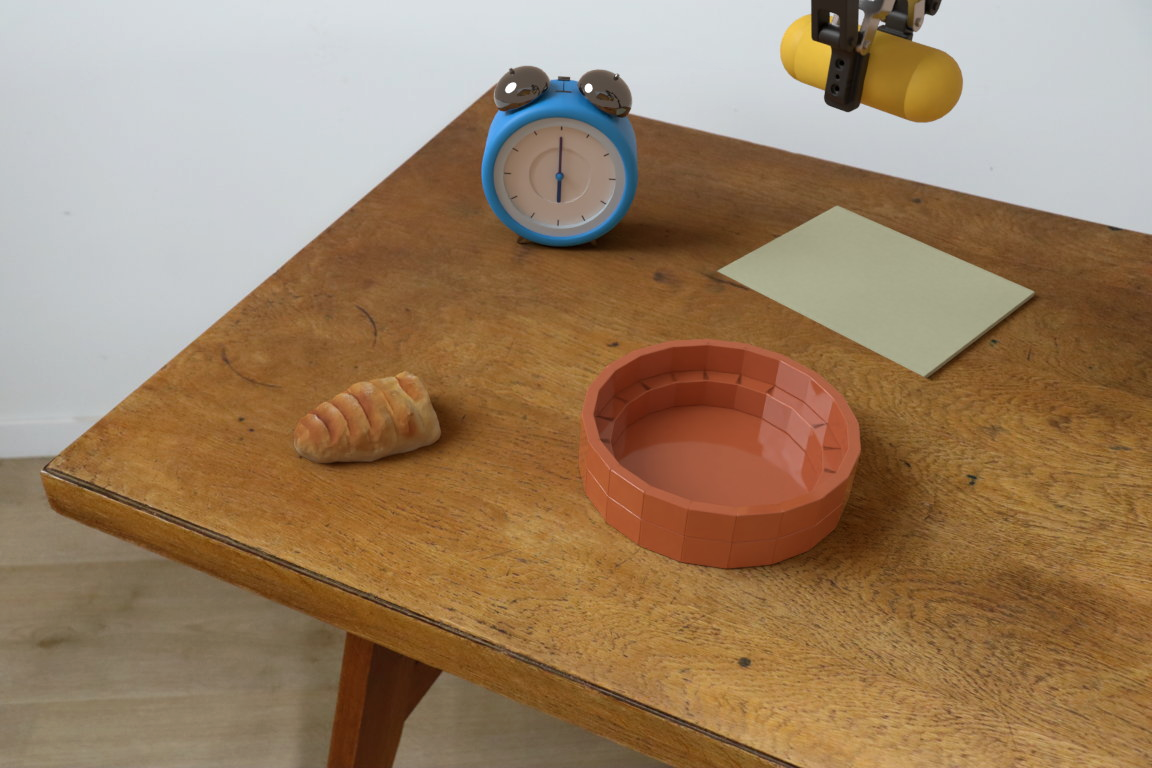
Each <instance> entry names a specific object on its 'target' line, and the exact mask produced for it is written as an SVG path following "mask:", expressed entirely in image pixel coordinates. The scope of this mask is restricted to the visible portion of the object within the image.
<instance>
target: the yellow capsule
mask: <svg viewBox="0 0 1152 768" xmlns="http://www.w3.org/2000/svg"><path fill="white" fill-rule="evenodd" d="M833 16H834V15H830V23H831V22H832V19H833ZM861 25H862V24H859V23H858V31H860V28H861ZM779 47H780V48H779V54H780V60H781V64H782V66H783V68H784V70H785V71H786V72H787V74H788V75H789V76H790V77H791V78H792V79H794V80H796V81H798V82H799V83H802V84H805V85H807V86H809V87H812V88H816V89H819V90H821V91H824V92H825V87H826V81H827V76H828V70H829V64H830V59H831V47H830V46H829V45H826V44H823V43H819V42H816V41H813V40H812V37H811V13H809V14H805V15H802V16H800V17H799V18H797V19H795V20H794V21H793V22H792V23H791V24H790V25H789V26H788V27H787V29H786V30H785V31H784V33H783V35H782V38H781V41H780V45H779ZM868 53H870V56H869V62H868V67H867V72H866V76H865V80H864V85H863V92H862V97H861V102H860V105H864V106H867V107H869V108H872V109H875V110H878V111H881V112H884V113H886V114H889V115H892V116H894V117H898V118H901V119H903V120H906V121H909V122H912V123H916V124H917V123H922V124H925V123H926V124H927V123H931V122H932V123H933V122H935V121H938V120H940V119H942V118H943V117H945V116H947V115H948V114H949V113H951V111H952V110H953V109H954V108H955V107H956V106H957V104H958V102H959V100H960V98H961V96H962V93H963V88H964V87H963V86H964V78H963V73H962V70H961V68H960V65H959V63H958V62H957V61H956V59H955V58H954V57H953V56H951V55H950V54H949V53H947V52H946V51H944V50H941V49H939V48H936V47H933V46H929V45H926V44H924V43H920V42H917V41H913V40H912V41H910V40H907V39H904V38H901V37H897V36H894V35H891V34H888V33H884V32H881V31H878V30H877V31H876V34H875V37H874V40H873V43H872V46H871V48H870V50H869V52H868Z"/></svg>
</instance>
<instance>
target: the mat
mask: <svg viewBox="0 0 1152 768" xmlns="http://www.w3.org/2000/svg"><path fill="white" fill-rule="evenodd" d="M717 272H718V273H720V274H722V275H724V276H726V277H727V278H729V279H732V280H733V281H735V282H737V283H739V284H741V285H743V286H745V287H747V288H750V289H751V290H753V291H755V292H757V293H759V294H761V295H763V296H765V297H766V298H769V299H771V300H773V301H774V302H776V303H778V304H781V305H782V306H783V307H786V308H788V309H790V310H792V311H794V312H796V313H798V314H800V315H802V316H804V317H806V318H808V319H810V320H812V321H814V322H816V323H818V324H820V325H822V326H824V327H825V328H828V329H829V330H831V331H833V332H835V333H837V334H838V335H841V336H843V337H845V338H847V339H849V340H850V341H853V342H855V343H856V344H859V345H861V346H863V347H865V348H866V349H868V350H871V351H873V352H874V353H876V354H878V355H880V356H882V357H884V358H886V359H888V360H890V361H892V362H893V363H896V364H898V365H900V366H902V367H903V368H906V369H908V370H910V371H912V372H914V373H916V374H918V376H919V375H920V376H922V377H924V378H925V379H928V378H930V376H932V375H933V374H934V373H936V372H937V371H939V370H940V369H941V368H942V367H943V366H945V365H946V364H947V363H948V362H950V361H952V360H953V359H954V358H955V357H957V356H958V355H959V354H960V353H962V352H963V351H964V350H966V349H967V348H969V347H970V346H972V344H974V343H975V342H976V341H978V339H980V338H981V337H983V336H984V335H985V334H987V333H989V332H990V331H991V330H992V329H993V328H994V327H996V326H997V325H999V323H1001V322H1002V321H1003V320H1005V319H1007V317H1009V316H1010V315H1012V314H1013V313H1014V312H1015V311H1017V310H1018V309H1019V308H1021V307H1022V306H1023V305H1025V303H1027V302H1029V300H1031V299H1032V298H1033V297H1034V295H1035V293H1036V292H1035V290H1032V289H1029V288H1027V287H1025V286H1023V285H1021V284H1018V283H1016V282H1013V281H1011V280H1009V279H1006V278H1004V277H1002V276H1000V275H998V274H996V273H993V272H991V271H988V270H986V269H985V268H983V267H982V268H981V267H979V266H977V265H975V264H972V263H970V262H967V261H966V260H963V259H961V258H958V257H956V256H954V255H951V254H950V253H947V252H946V251H945V252H944V251H942V250H940V249H938V248H937V247H933V246H931V245H929V244H926V243H924V242H922V241H920V240H917V239H915V238H913V237H910V236H908V235H907V234H903V233H901V232H899V231H898V230H894V229H892V228H890V227H888V226H885V225H883V224H881V223H879V222H877V221H874V220H871V219H869V218H868V217H867V218H866V217H865V216H863V215H860V214H858V213H856V212H853V211H851V210H848V209H847V208H844V207H842V206H840V205H835V206H833V207H832V208H829V209H828V210H825V211H824V212H822V213H820V214H818V215H817V216H815V217H813V218H811V219H810V220H808V221H805V222H804V223H802V224H800V225H798V226H797V227H795V228H793V229H791V230H789V231H787V232H786V233H784V234H781V235H779V236H778V237H776V238H774V239H773V240H770V241H769V242H767V243H766V244H763V245H761V246H760V247H758V248H756V249H754V250H753V251H751V252H748V253H747V254H745V255H743V256H742V257H740V258H738V259H736V260H734V261H733V262H730V263H729V264H727V265H725V266H723V267H721V268H720V269H718V270H717Z"/></svg>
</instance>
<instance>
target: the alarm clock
mask: <svg viewBox="0 0 1152 768" xmlns="http://www.w3.org/2000/svg"><path fill="white" fill-rule="evenodd" d="M493 100H494V104H495V106H496V108H497V112H496V114H495V116H494V117H493V118H492V122H491V123H490V126H489V129H488V133H487V137H486V142H485V148H484V152H483V156H482V162H481V171H480V172H481V175H480V176H481V183H482V189H483V192H484V193H483V194H484V196H485V198H486V201H487V203H488V205H489V207H490V208H491V209H490V210H492V213H494V215H495V216H496V217H497V218H498V220H499V221H500V222H501V223H502V224H503V225H504V226H505V227H506V228H508V229H509V230H510V231H512V232H513V233H514V234H516V235H518V237H517V240H516V243H517V244H520V243H521V242H522V241H523V240H524V239H525V240H528V241H530V242H533V243H535V244H538V245H539V244H540V245H543V246H549V247H574V246H579V245H583V244H587V243H591V245H592V246H593V247H594V248H597V247H598V243H597V239H599V238H601V237H602V236H604V235H605V234H607V233H609V232H610V231H612V230H613V229H614V228H615V227H616V226H617V225H618V224H619V223H620V222H621V221H622V220H623V219H624V218H625V216H626V215H627V213H628V212H629V210H630V208H631V206H632V204H633V202H634V200H635V196H636V194H637V189H638V183H639V182H638V181H639V168H638V166H639V165H638V146H637V138H636V137H637V136H636V134H635V131H634V127H633V125H632V123H631V120H630V119H629V116H628V115H629V114H630V112H631V110H632V106H633V95H632V91H631V89H630V87H629V85H628V84H627V83H626V81H625V80H624V79H623V78H622V77H621V76H620V74H619V73H614V72H613V71H610V70H607V69H600V68H595V69H591V70H588V71H586V72H585V73H583V74H582V75H581V77H580V78H578V80H574V79H571V76H562V75H559V76H557V78H556V79H550V77H549V76H548V74H547V73H546V71H544V70H543V69H542V68H539V67H538V66H535V65H520V66H517V67H514V68H513V67H510V68H508V71H507V72H506V73H504V74H503V75H502V76H501V77H500V79H499V80H498V82H497V83H496V85H495V88H494V90H493Z"/></svg>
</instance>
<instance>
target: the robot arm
mask: <svg viewBox="0 0 1152 768" xmlns="http://www.w3.org/2000/svg"><path fill="white" fill-rule="evenodd" d="M942 1H943V0H810V14H811V37H812V40H813V41H816V42H819V43H823V44H826V45H829V46H830V47H831V59H830V64H829V70H828V76H827V81H826V87H825V91H824V94H823V100H824V103H825V104H826V105H827V106H829V107H831V108H833V109H837V110H839V111H841V112H842V111H843V112H845V113H851V112H853V111H855V110H857V109H859V107H860V106H861V103H860V102H861V97H862V92H863V85H864V80H865V76H866V72H867V67H868V62H869V56H870V53H868V52H869V50H870V48H871V46H872V43H873V40H874V37H875V34H876V31H877V30H878V31H881V32H884V33H888V34H891V35H894V36H897V37H901V38H904V39H907V40H910V41H913V38H914V33H917V32H919V31H920V29H921V28H922V27H923V25H924V20H925V16H926V15H927V16H931V17H933V16H935V15H937V13H938V11H939V9H940V7H941V4H942ZM860 11H862V12H863V13H864V16H863V19H862V21H861V24H860V25H861V28H860V31H858V24H859V22H860V21H859V17H860V16H859V15H860ZM831 14H833V15H832V16H833V19H832V22H831V23H830V16H831ZM880 22H881V23H884V24H880Z"/></svg>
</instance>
